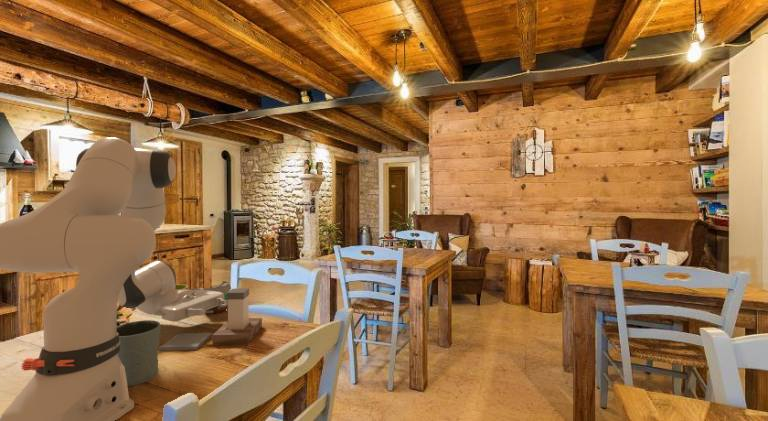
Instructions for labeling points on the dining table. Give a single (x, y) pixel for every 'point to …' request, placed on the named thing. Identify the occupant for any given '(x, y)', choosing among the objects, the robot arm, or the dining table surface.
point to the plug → (238, 309)
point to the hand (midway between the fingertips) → (215, 307)
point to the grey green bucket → (139, 350)
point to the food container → (224, 289)
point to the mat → (186, 341)
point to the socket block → (237, 334)
